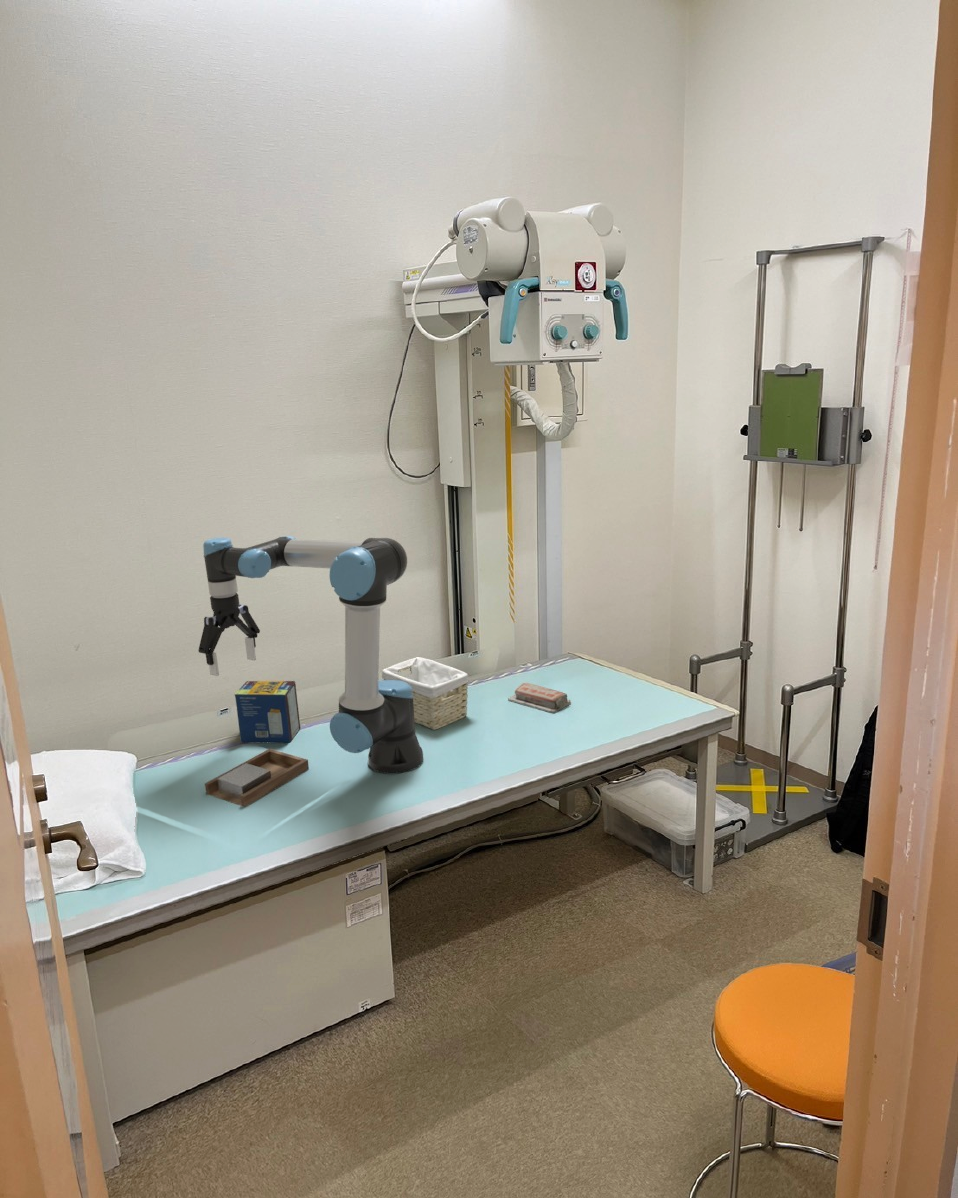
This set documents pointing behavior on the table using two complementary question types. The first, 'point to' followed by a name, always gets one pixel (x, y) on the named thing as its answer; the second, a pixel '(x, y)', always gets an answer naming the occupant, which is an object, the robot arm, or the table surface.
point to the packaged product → (540, 698)
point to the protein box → (267, 711)
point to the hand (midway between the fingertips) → (233, 667)
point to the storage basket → (433, 691)
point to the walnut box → (281, 773)
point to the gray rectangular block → (242, 780)
